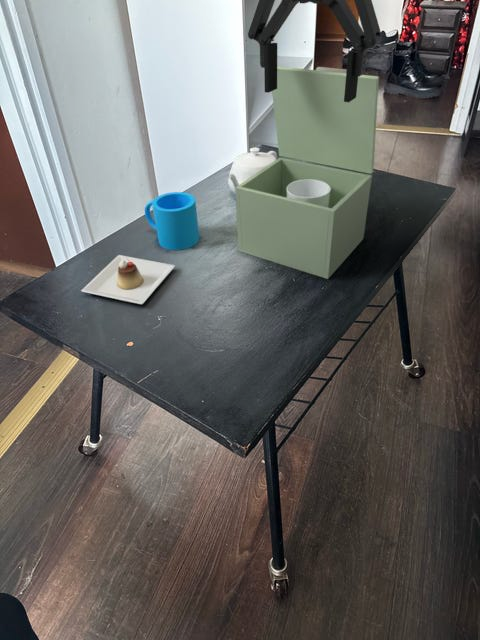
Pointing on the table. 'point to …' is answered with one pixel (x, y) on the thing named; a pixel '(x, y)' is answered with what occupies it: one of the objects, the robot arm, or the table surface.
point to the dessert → (129, 279)
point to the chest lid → (326, 118)
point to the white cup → (310, 191)
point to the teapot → (249, 166)
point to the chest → (302, 217)
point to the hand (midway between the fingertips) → (308, 95)
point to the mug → (174, 220)
